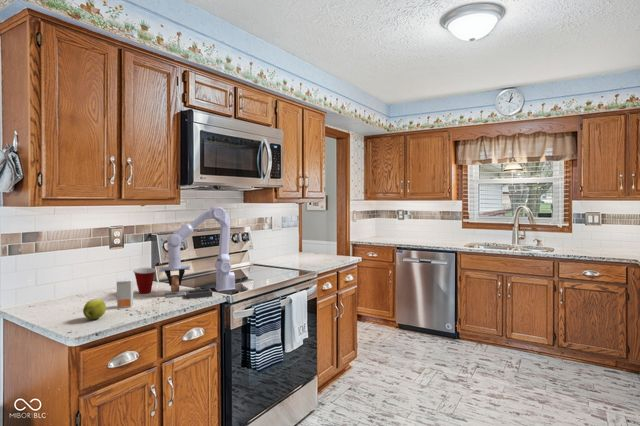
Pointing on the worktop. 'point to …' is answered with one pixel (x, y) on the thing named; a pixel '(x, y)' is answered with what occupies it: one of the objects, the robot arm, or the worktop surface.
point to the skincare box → (125, 293)
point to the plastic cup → (144, 279)
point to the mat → (175, 294)
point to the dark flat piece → (199, 293)
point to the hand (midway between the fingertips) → (175, 285)
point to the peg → (174, 283)
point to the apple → (94, 309)
